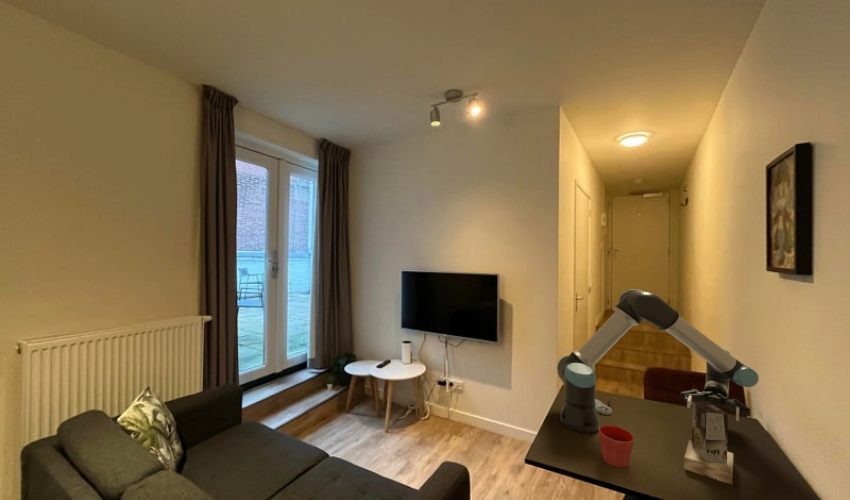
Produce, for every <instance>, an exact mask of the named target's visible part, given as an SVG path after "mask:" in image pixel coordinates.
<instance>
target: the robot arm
mask: <svg viewBox="0 0 850 500" xmlns="http://www.w3.org/2000/svg"><path fill="white" fill-rule="evenodd" d="M643 321H645V322H648V323H650V324H651V325H653V326H655V327H656V328H658V329H659V330H660V331H666V332H667V333H668V334H670V335H671V336H672V337H674V338H675V339H677V340H678V341H679V342H680V343H682V344H683V345H684V346H686V347H687V348H688V349H689V350H691V351H692V352H693V353H694V354H696V355H697V356H699V357H700V358H702V359H703V360H704V361H706V362H705V363H706V364H705V365H706V370H705V371H706V372H705V384H704V388H703V391H699V390H698V389H696V388H692V389H690V390H686V391H681V392H680V395H679V396H680V400H684V402H685V403H686V408H688V409H690V408H691V407H692V401H694V402H708V403H713V404H714V405H716V406H721V407H723V408H727V409H729V410H731V411H732V412H734V413H735V421H737V422H740V417H741V418H743V417H744V416H746V417H750V416H751V408H750V407H748V406H747V405H745V404H744V403H742V402H741V401H739V399H738V398H736V397H735V398H733V399H730V398H729V390H730V381H731V382H734V383H735V384H736V385H739V386H741V387H744V388H753V387H755V386H756V385H757V384H758V382H759V379H760V378H759V374H758V373H757V372H756V371H755V369H753V368H752V367H749V366H747V365H745V364H744V363H742V361H739V360H738V359H737V358H735V357H734V356H733V355H732V354H730V351H729V350H726V349H724V348H722V347H721V346H719V345H718V344H717V343H715V342H714V341H713V340H712V339H710V338H709V337H707V336H706V335H705V334H703V333H702V332H701V331H699V330H698V329H697V328H696V327H694V326H693V325H692V324H690V323H689V322H687V321H686V320H685V319H683V318H682V317H681V315H680V312H679V311H677V310H676V309H675V308H673V307H672V305H669V304H668V302H666V301H665V300H663V298H661V297H660V296H658V295H656V294H655V293H652V292H648V291H645V290H643V289H639V288H632V289H627V290H626V291H624V292H623V293H622V294H621V295H620V297H619V301H618V303H617V304H616V305H615V306H614V313H612V315H611V316H610V317H609V318H608V319H607V320H606V321H605V322H604V323H603V324H602V325H601V326H600V327H599V328H598V329H597V331H596V332H595V333H594V334H592V336H590V338H589V339H588V340H587V341H586V342H585V343H584V344H583V346H581V347H580V348H579V350H573V351H571V353H570V354H569V355H565V356H563V357H562V358H560V359H559V361H558V362H557V364H556V365H557V366H556V370H557V371H556V372H557V375H558V378H560V380H561V382H562V383H563V385H564V403H563V406H562V409H561V411H560V414H559V420H560V423H561V424H562V425H563V426H564V427H566V428H567V429H570V430H572V431H576V432H579V433H586V434H588V433H589V434H590V433H595V432H599V428H600V427H601V426H600V425H601V424H600V423H601V421H600V419H599V414H598V412H597V411H596V409H595V399H596V390H597V389H596V388H597V387H596V385H597V384H596V383H597V377H596V367H595V366H596V364H597V363H598V362H599V361H600V360H601V359H602V358H603V357H604V356H605V355H606V354H607V353H608V351H610V349H611V348H613V346H615V345H616V343H618V342H619V340H620V339H621V338H623V336H624V335H625V334H626V333H627V332H628V331H629V330H630V329H631V328H632V327H633V326H639V325H640V324H641V323H643Z"/></svg>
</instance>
